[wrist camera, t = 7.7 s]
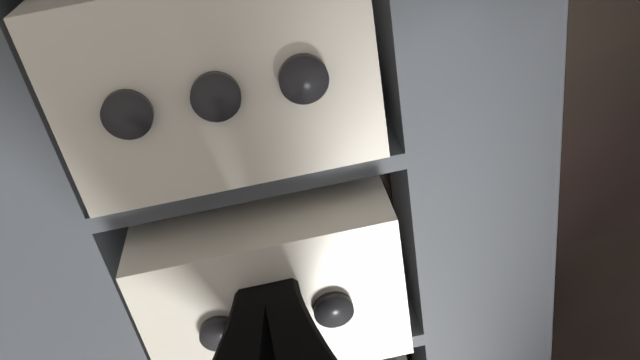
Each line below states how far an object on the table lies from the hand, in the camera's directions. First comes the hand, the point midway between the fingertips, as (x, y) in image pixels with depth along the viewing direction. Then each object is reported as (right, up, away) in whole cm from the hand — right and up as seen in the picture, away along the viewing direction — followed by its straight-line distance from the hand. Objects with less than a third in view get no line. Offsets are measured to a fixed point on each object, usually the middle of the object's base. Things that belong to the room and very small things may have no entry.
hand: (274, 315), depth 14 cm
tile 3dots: (-1, +6, 0) cm, 7 cm away
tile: (0, +2, +3) cm, 3 cm away
